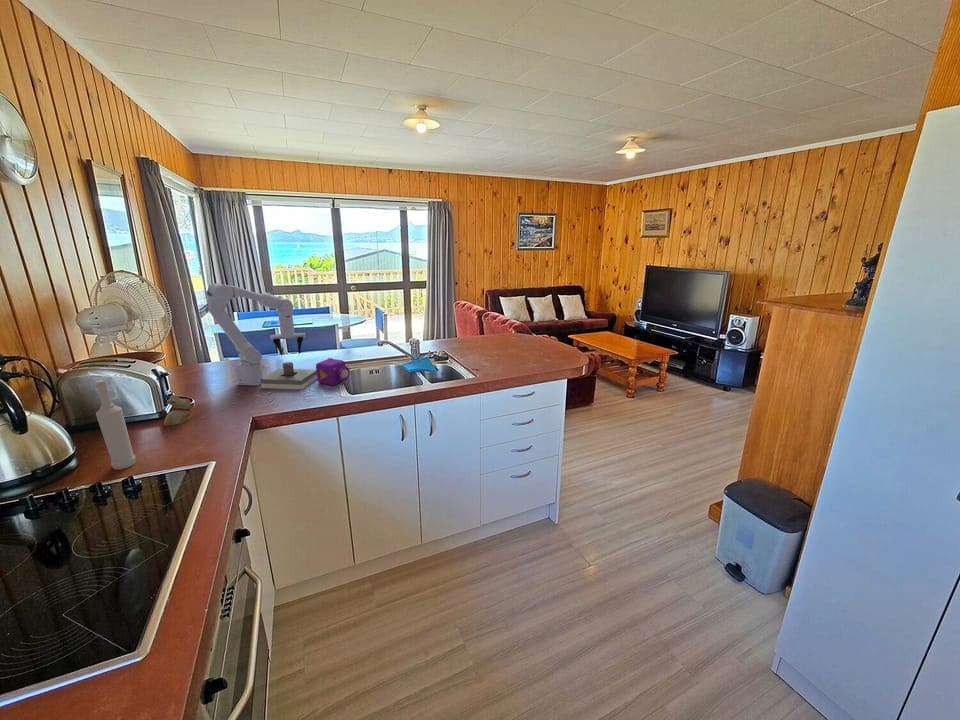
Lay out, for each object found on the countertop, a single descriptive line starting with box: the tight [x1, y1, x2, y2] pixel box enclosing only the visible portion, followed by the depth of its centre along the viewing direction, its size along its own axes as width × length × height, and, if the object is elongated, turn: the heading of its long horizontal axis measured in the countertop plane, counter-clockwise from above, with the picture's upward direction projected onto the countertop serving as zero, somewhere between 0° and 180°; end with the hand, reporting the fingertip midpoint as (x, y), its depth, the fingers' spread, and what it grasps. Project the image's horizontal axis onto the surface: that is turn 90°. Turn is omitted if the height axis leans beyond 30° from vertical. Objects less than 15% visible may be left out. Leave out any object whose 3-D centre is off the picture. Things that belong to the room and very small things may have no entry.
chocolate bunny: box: [163, 394, 192, 427], centre depth 136 cm, size 6×8×10 cm
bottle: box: [94, 379, 137, 470], centre depth 107 cm, size 5×5×25 cm
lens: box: [282, 361, 295, 377], centre depth 172 cm, size 4×4×7 cm
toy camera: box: [315, 357, 351, 386], centre depth 174 cm, size 11×14×10 cm
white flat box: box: [260, 368, 318, 390], centre depth 173 cm, size 18×14×4 cm
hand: (290, 353), depth 184 cm, fingers open, 7 cm apart
